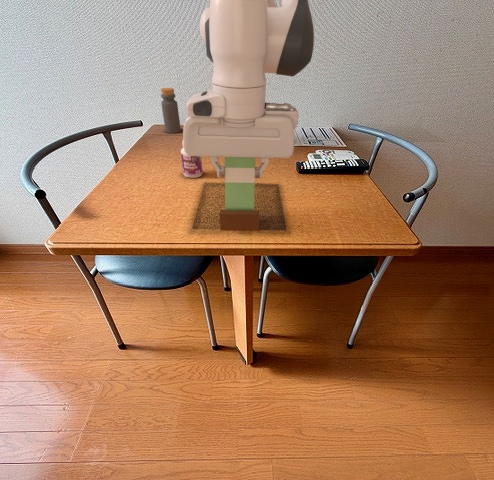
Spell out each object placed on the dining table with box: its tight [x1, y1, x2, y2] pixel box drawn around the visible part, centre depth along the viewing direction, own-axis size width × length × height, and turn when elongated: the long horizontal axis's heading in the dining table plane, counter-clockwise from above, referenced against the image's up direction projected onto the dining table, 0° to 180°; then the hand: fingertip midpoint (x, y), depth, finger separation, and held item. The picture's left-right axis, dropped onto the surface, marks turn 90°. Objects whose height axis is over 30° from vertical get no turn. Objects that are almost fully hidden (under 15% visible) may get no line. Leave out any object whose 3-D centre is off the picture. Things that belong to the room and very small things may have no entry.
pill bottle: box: [180, 140, 203, 179], centre depth 79 cm, size 5×5×10 cm
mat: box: [191, 182, 287, 232], centre depth 68 cm, size 22×20×5 cm
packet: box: [224, 157, 256, 210], centre depth 59 cm, size 2×6×14 cm, turn 91°
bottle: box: [160, 87, 182, 134], centre depth 109 cm, size 6×6×15 cm
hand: (239, 176), depth 57 cm, fingers closed on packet, 6 cm apart
